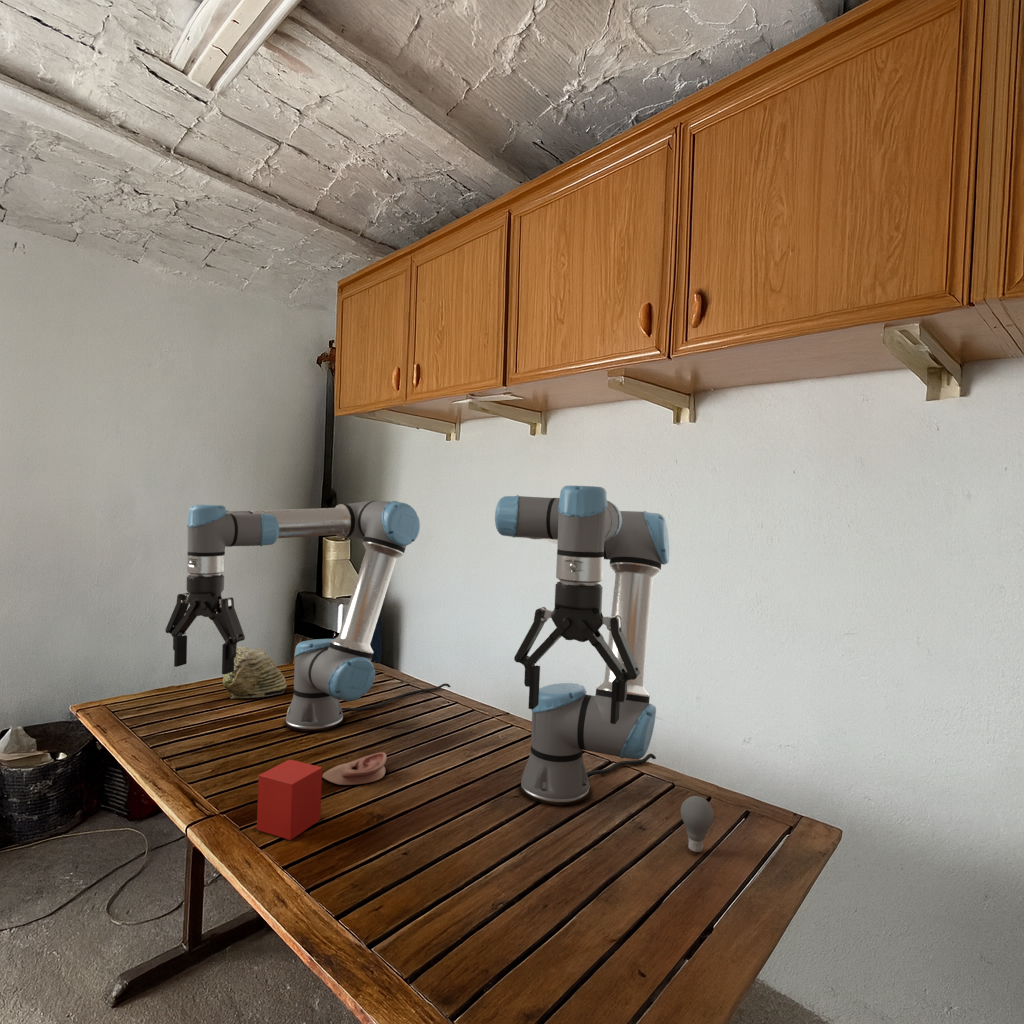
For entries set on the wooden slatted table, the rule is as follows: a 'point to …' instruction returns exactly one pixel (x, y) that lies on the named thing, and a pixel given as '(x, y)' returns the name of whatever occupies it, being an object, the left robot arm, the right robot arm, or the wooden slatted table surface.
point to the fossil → (254, 675)
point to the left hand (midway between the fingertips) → (203, 669)
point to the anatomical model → (358, 770)
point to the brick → (289, 799)
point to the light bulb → (696, 820)
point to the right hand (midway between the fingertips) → (573, 714)
